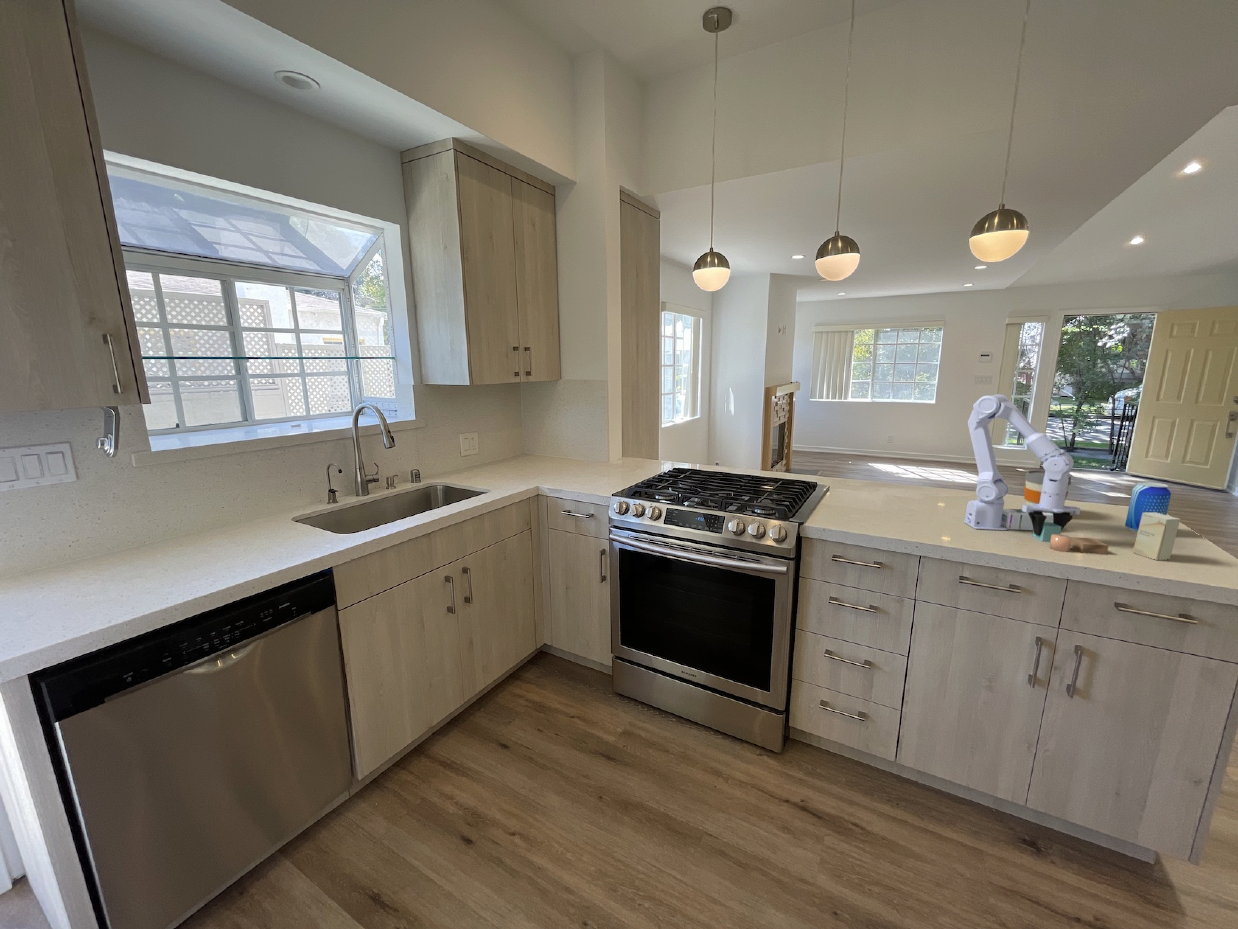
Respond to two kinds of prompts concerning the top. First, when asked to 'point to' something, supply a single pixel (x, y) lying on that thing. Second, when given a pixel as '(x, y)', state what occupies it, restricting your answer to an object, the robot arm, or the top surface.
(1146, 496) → the beer can
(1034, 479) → the reusable coffee cup
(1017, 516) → the syrup box
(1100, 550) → the walnut block
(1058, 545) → the peach round piece
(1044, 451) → the robot arm
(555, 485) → the top surface
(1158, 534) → the skincare box
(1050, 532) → the teal block
